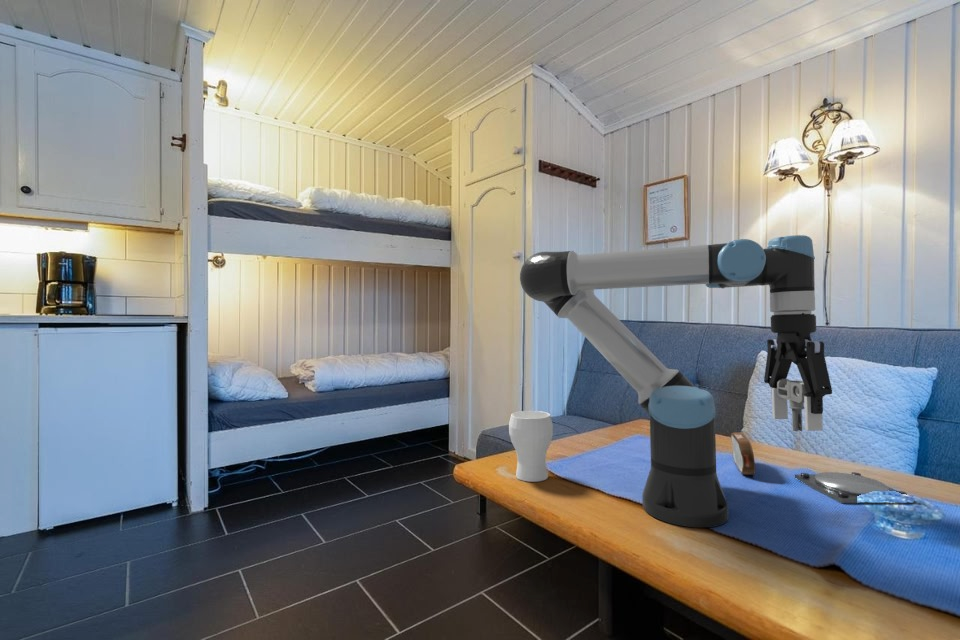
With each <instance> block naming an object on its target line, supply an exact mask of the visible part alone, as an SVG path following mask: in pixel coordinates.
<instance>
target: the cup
mask: <svg viewBox="0 0 960 640" xmlns="http://www.w3.org/2000/svg"><path fill="white" fill-rule="evenodd" d="M553 427H554V425H553V421H552V416H551V414H550V413H549V412H547V411H546V412H545V411H540V410H522V411H521V410H520V411H516V412H512V413H511V414H510V419H509V422H508V434H509V437H510V441H511V444H512V446H513V447H514V449H515V451H516V452H515V453H516V458H517V464H516V471H515V473H516V474H515V477H516V478H517V480H519V481H523V482H533V483H534V482H542V481H545V480H547V479H548V478H549V474H548V473H549V472H548V467H547V462H546V459H547V452H548V450H549V447H550V445H551V444H552V439H553V436H554V428H553Z"/></svg>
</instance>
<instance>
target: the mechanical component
mask: <svg viewBox="0 0 960 640" xmlns="http://www.w3.org/2000/svg"><path fill="white" fill-rule="evenodd" d="M813 390H814V389H813ZM777 393H778V395H779V397H781V398H784V399H787V401H789V406H788V409H791V413H792V414H791V418H792V431H793V432H798V431H800V432H803V414H802V413H803V410H805V405H804V394H805V393H807V391H806V388H805V386H804V383H803V380H790V379H787V378H786V379H780V380H779V381H778V382H777Z"/></svg>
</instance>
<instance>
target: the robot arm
mask: <svg viewBox="0 0 960 640" xmlns="http://www.w3.org/2000/svg"><path fill="white" fill-rule="evenodd" d="M813 245H814V243H813V239H812V238H811V237H810V236H808V235H805V234H802V235H800V234H797V235H796V234H795V235H786V236H779V237H774V238H772V239H770V240H768V242H767V247H766V248H763V246H761V244H759V243H758V242H756V241H755V240H751V239H748V238H739V239H734V240H732V241H729V242H726V243H714V244H700V245H689V246H687V245H686V246H678V247H676V246H675V247H665V248H662V247H661V248H649V249H639V250H638V249H637V250H628V251H627V250H625V251H613V252H611V251H610V252H601V253H589V254H577V252H575V251H574V250H567V251H564V250H563V251H540V252H536V253H534V254H532V255H530V256H529V257H528V258H527V259H526V260H525V261H524V263H523V264H522V266H521V269H520V272H519V281H520V285H521V288H522V290H523V291H524V293H525V294H526V295H527V296H528V297H529V298H531V299H533V301H538V302H543V303H544V304H545V305H546V306H547V307H548V308H549V309H550V310H551V311H552V312H553V313H554V314H555V315H556V317H557V318H558V319H560V318H561V319H568V320H569V321H570V322H571V324H573V326H575V328H576V329H577V330H578V331H579V332H580V333H581V334H582V335H583V336H584V337H585V338H586V340H587V341H589V343H590V344H591V345H592V346H593V347H594V348H595V349H596V350H597V351H598V352H599V353H600V354H601V355H602V356H603V358H605V360H606V361H607V362H608V363H609V364H611V365H610V366H612V367H613V368H614V369H615V370H616V371H617V372H618V373H619V374H620V376H621V377H622V378H623V379H624V380H625V381H626V382H627V383H628V384H629V385H630V386H631V387H632V388H633V389H634V390H635V392H637V395H638V397H637V398H638V400H637V401H638V402H637V403H638V404H639V406H641V408H642V409H643V410H644V411H645V412H646V413H647V414H648V415H649V436H650V437H649V440H650V441H649V442H650V445H649V446H650V469H649V473H648V476H647V480H646V481H645V484H644V488H643V492H642V500H641V501H642V508H643V510H644V511H645V512H646V513H647V514H648V515H650V516H652V517H653V518H655V519H657V520H660V521H663V522H665V523H669V524H673V525H676V526H681V527H688V528H711V527H713V528H714V527H718V526H721V525H723V524H725V523H726V522H727V521H728V519H729V507H728V506H729V505H728V502H727V500H726V497H725V494H724V491H723V489H722V486H721V483H720V481H719V478H718V475H717V474H718V473H717V448H716V447H717V445H716V441H717V440H716V439H717V438H716V415H717V407H716V404H715V399H714V396H713V395H712V393H710V392H709V391H708V390H705V389H701V388H699V387H697V386H696V385H694V384H693V383H692V382H691V381H690V380H689V379H688V378H687V377H686V376H685V375H684V374H683V373H682V372H681V371H680V370H679V369H673V368H667V367H666V366H665V365H664V364H663V363H662V362H661V361H660V359H658V357H656V356H655V354H653V353H652V351H650V349H648V347H646V345H645V344H644V343H643V342H642V341H640V339H638V338H637V336H636V335H635V334H634V333H633V332H632V331H631V330H630V329H629V328H628V327H627V326H626V325H625V324H624V323H623V322H622V321H621V320H620V319H619V318H618V317H617V316H616V315H615V314H614V313H613V312H612V311H611V310H610V309H609V308H608V307H607V306H606V305H605V304H604V303H603V301H602V300H600V299H599V298H598V297H597V296H596V295H595V290H608V289H609V290H610V289H611V290H612V289H614V290H615V289H631V288H633V289H634V288H649V287H651V288H652V287H672V286H691V285H694V286H695V285H705V286H706V288H709V289H715V288H716V289H718V288H719V289H725V288H739V287H740V288H741V287H754V286H762V287H763V286H769V312H771V313H773V315H771V316H770V331H771V332H772V333H774V334H777V337H776V339H775V338H774V339H767V340H766V345H767V353H766V363H765V371H764V378H763V381H764V384H768V386H769V388H771V405H772V407H771V408H772V411H771V412H772V419H773V420H789V411H788V409H789V406H788V399H784V398H781V397H779V395H778V393H777V382H778V381H779V380H780V379H787V377H788V375H789V372H790V369H791V366H792V363H793V364H795V365H796V366H797V369H798V372H799V375H800V377H801V381H803V383H804V386H805V388H806V391H807V393H805V394H804V407H805V409H804V425H805V426H804V430H805V431H808V432H811V431H812V432H815V431H816V432H819V431H820V432H821V431H823V430H824V427H823V426H824V425H823V414H824V413H823V412H824V403H823V402H824V401H823V398H824V397H825V396H828V395H832V394H833V387H832V383H831V380H830V376H829V375H830V374H829V371H828V367H827V361H826V356H825V342H823V341H813V340H812V337H811V334H812V333H815V332H816V331H817V315H815V313H812V312H814V311H815V310H816V295H815V294H816V293H815V286H816V284H815V260H816V259H815V255H814V254H815V253H814V247H813ZM813 389H814V390H813Z"/></svg>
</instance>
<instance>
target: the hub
mask: <svg viewBox="0 0 960 640" xmlns="http://www.w3.org/2000/svg"><path fill="white" fill-rule="evenodd" d="M795 478H797V479H798V480H800V481H802V482H803V483H802V482H801V483H802V484H804V483H805V484H804V485H806V486H807V485H808V486H807V487H809V486H810V487H809V488H811V487H812V489H813V488H814V489H813V490H815V489H816V490H815V491H817V492H819V493H820V494H823V495H825V494H826V495H827V497H828V496H829V498H830V497H831V499H832V498H833V499H832V500H834V499H835V501H836V500H837V501H836V502H837V503H840V504H842V503H852V504H858V503H857V496H859V495H861V494H866V493H869V492H872V491H888V490H889V491H896V492H899V493H901V494H906V495H908V494H907V492H906V491H903V490H897V489H894V488H891V487H890V486H888V485H887V484H885V483H883V482H882V481H879V480H877V479H874V478H870V477H868V476H863V475H862V473H860V472H857V471H856V472H855V471H854V472H851V473H846V472H837V471H836V472H832V471H827V472H824V471H823V472H819V473H817V474H816V473H815V474H813V473H812V474H809V473H807V472H801V473H800V474H794V479H795ZM798 480H797V481H798ZM800 481H799V482H800ZM826 495H825V496H826Z"/></svg>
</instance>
